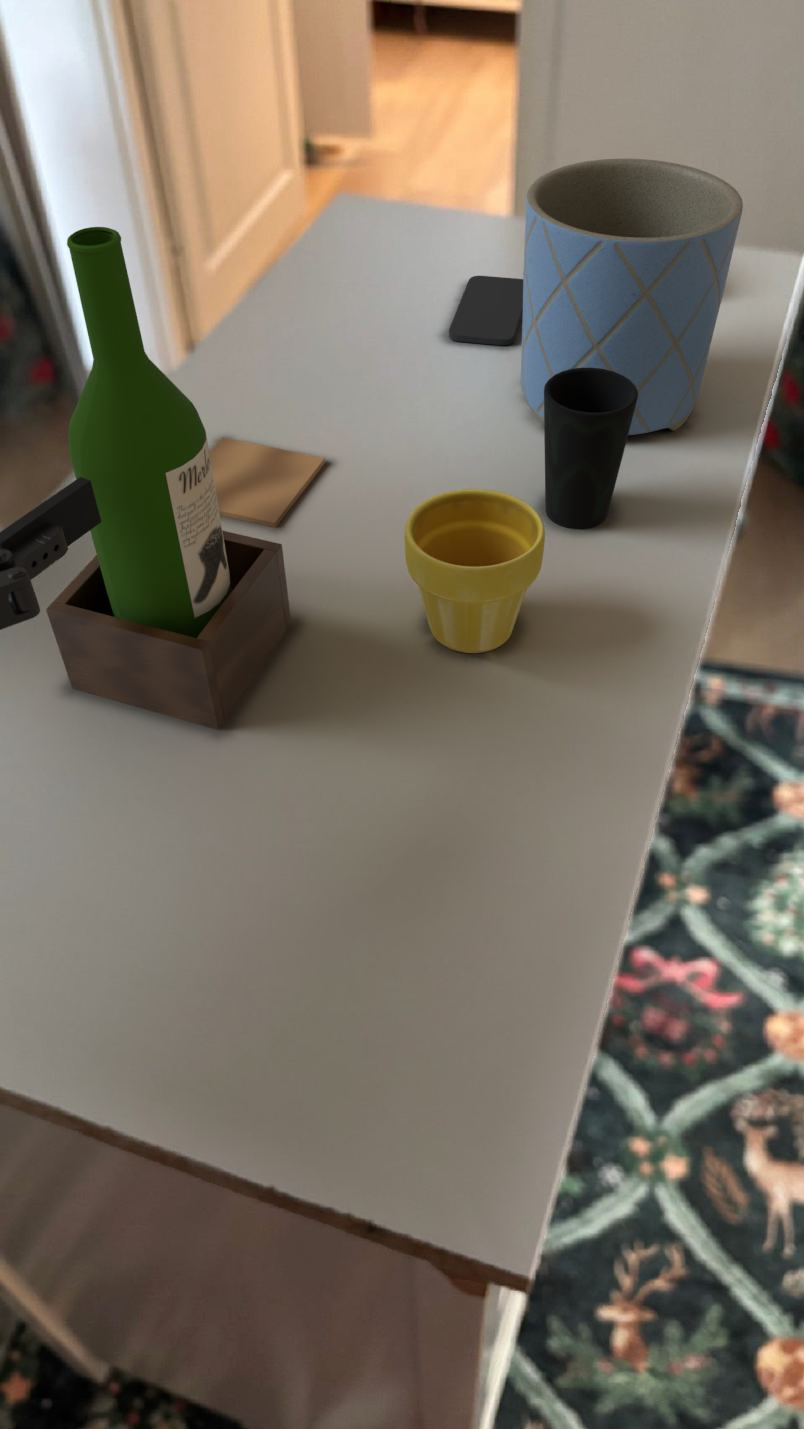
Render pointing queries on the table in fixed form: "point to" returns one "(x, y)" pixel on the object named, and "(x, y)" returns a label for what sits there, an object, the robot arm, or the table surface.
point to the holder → (177, 640)
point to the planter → (626, 279)
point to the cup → (584, 443)
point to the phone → (489, 311)
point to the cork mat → (259, 480)
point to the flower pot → (473, 564)
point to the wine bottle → (142, 461)
